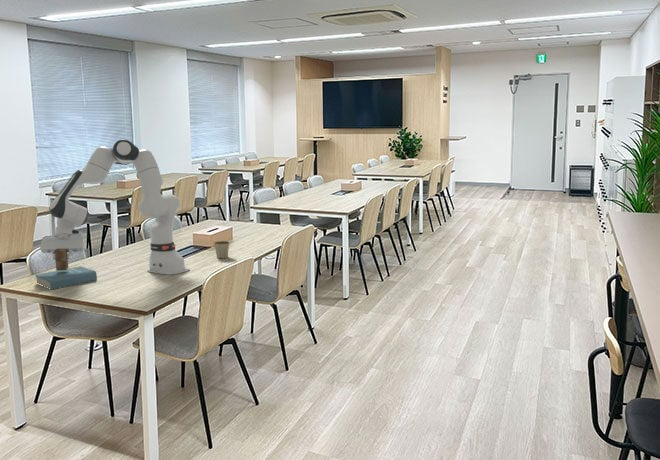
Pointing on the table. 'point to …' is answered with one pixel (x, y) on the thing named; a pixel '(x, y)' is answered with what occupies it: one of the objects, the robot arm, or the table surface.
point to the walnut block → (61, 259)
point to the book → (66, 277)
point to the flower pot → (221, 249)
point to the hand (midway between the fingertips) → (61, 258)
